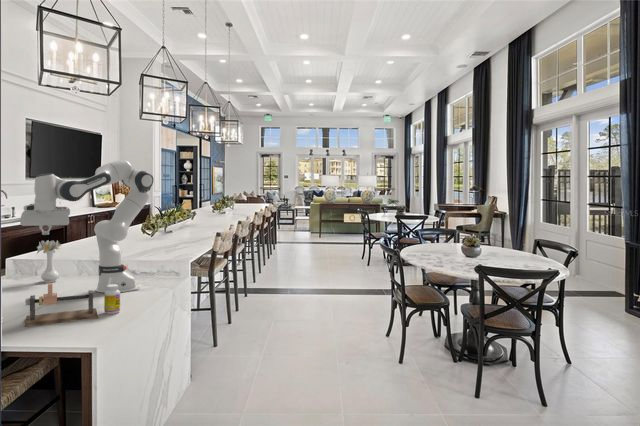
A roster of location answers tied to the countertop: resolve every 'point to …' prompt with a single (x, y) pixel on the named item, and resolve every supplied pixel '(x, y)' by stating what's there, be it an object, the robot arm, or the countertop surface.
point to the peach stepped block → (50, 296)
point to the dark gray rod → (57, 299)
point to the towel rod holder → (60, 314)
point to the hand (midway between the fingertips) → (45, 234)
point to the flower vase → (49, 260)
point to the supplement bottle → (112, 299)
